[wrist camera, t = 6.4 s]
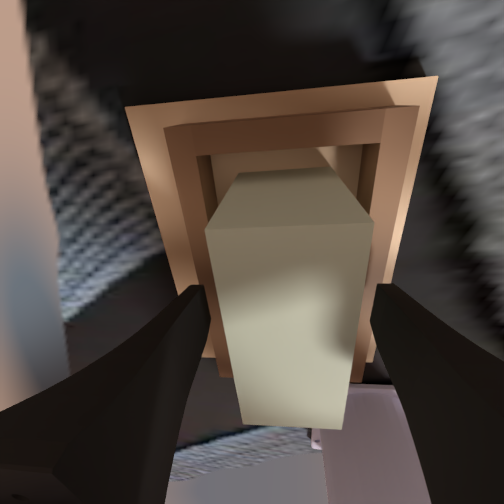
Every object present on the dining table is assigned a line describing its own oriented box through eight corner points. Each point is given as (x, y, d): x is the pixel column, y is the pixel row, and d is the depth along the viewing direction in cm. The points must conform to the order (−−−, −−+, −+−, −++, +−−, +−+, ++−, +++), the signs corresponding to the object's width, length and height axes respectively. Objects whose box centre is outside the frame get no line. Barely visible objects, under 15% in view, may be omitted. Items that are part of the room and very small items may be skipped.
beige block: (330, 166, 11) (374, 222, 6) (321, 320, 15) (341, 429, 10) (238, 172, 12) (204, 229, 6) (255, 320, 16) (243, 423, 11)
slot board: (368, 352, 18) (382, 391, 15) (199, 347, 19) (187, 383, 17) (427, 77, 10) (475, 69, 7) (134, 106, 11) (94, 107, 9)
